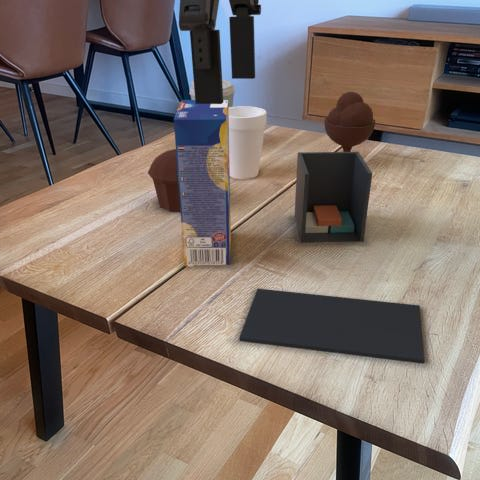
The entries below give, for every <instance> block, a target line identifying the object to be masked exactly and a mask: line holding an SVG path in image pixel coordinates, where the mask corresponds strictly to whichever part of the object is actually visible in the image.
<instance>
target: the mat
mask: <svg viewBox="0 0 480 480" xmlns="http://www.w3.org/2000/svg"><path fill="white" fill-rule="evenodd" d="M420 307H421V306H420V305H419V304H411V303H400V302H391V301H381V300H371V299H361V298H353V297H343V296H335V295H334V296H332V295H322V294H316V293H315V294H313V293H303V292H295V291H286V290H285V291H284V290H276V289H275V290H274V289H265V288H257V289H256V292H255V293H254V297H253V300H252V302H251V305H250V308H249V311H248V313H247V316H246V319H245V322H244V324H243V327H242V330H241V332H240V335H239V339H238V340H239V342H244V343H252V344H260V345H269V346H275V347H285V348H294V349H302V350H308V351H309V350H310V351H316V352H317V351H318V352H325V353H334V354H342V355H349V356H358V357H367V358H374V359H375V358H376V359H384V360H389V361H399V362H407V363H417V364H425V362H426V361H425V359H426V358H425V350H424V349H425V348H424V339H423V329H422V318H421V308H420Z"/></svg>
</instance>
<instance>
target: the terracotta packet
mask: <svg viewBox="0 0 480 480" xmlns="http://www.w3.org/2000/svg"><path fill="white" fill-rule="evenodd" d="M313 213H314V216H315V219H316V222H317V225H318V226H341V225H342V218H341V216H340V213H339V211H338V209H337V206H336V205H332V206H313Z"/></svg>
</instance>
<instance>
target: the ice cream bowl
mask: <svg viewBox="0 0 480 480" xmlns="http://www.w3.org/2000/svg"><path fill="white" fill-rule="evenodd" d="M323 123H324V130H325V133H326V135H327V136H328V137H329V139H330V140H331V141H333V142H334V144H337V145H339V146H341V148H342V152H352V151H351V150H352V148H354V147H356V146H359V145H361V144H363V143H365V141H367V140H368V139H369V138H370V137H371V136H372V134H373V133H374V130H375V126H376V119H375V118H374V112H373V109H372V107H371V105H369V104H368V103H366V102H364V98H363V97H362V96H361V94H360V93H358V92H355V91H347V92H344V93H343V94H342V95H341V96H339V98H338V99H337V102H336V104H335V107H334V108H332V109H331V110H330V111H329V113H328V115H327V117H325V118H324V122H323Z"/></svg>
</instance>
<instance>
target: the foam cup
mask: <svg viewBox="0 0 480 480" xmlns="http://www.w3.org/2000/svg"><path fill="white" fill-rule="evenodd" d="M267 112H268V111H266V110H265V109H264V108H261V107H258V106H251V105H250V106H249V105H243V106H238V105H237V106H233V107H229V108H228V115H229V166H230V178H233V179H236V180H248V179H254V178H256V177H257V176H258V175H259V173H260V164H261V158H262V150H263V145H264V137H265V130H266V125H267V115H268V113H267Z"/></svg>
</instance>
